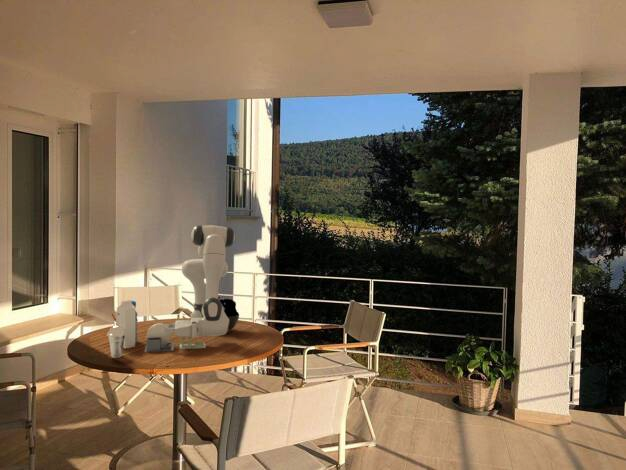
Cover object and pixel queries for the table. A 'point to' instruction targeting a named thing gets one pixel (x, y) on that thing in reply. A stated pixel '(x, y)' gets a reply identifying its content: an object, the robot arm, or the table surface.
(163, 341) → the plate
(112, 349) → the cup with straw
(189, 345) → the plate stand
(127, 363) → the table surface
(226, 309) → the bowl of black rocks
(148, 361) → the table surface
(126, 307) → the milk
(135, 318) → the beverage bottle
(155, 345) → the dish rack
